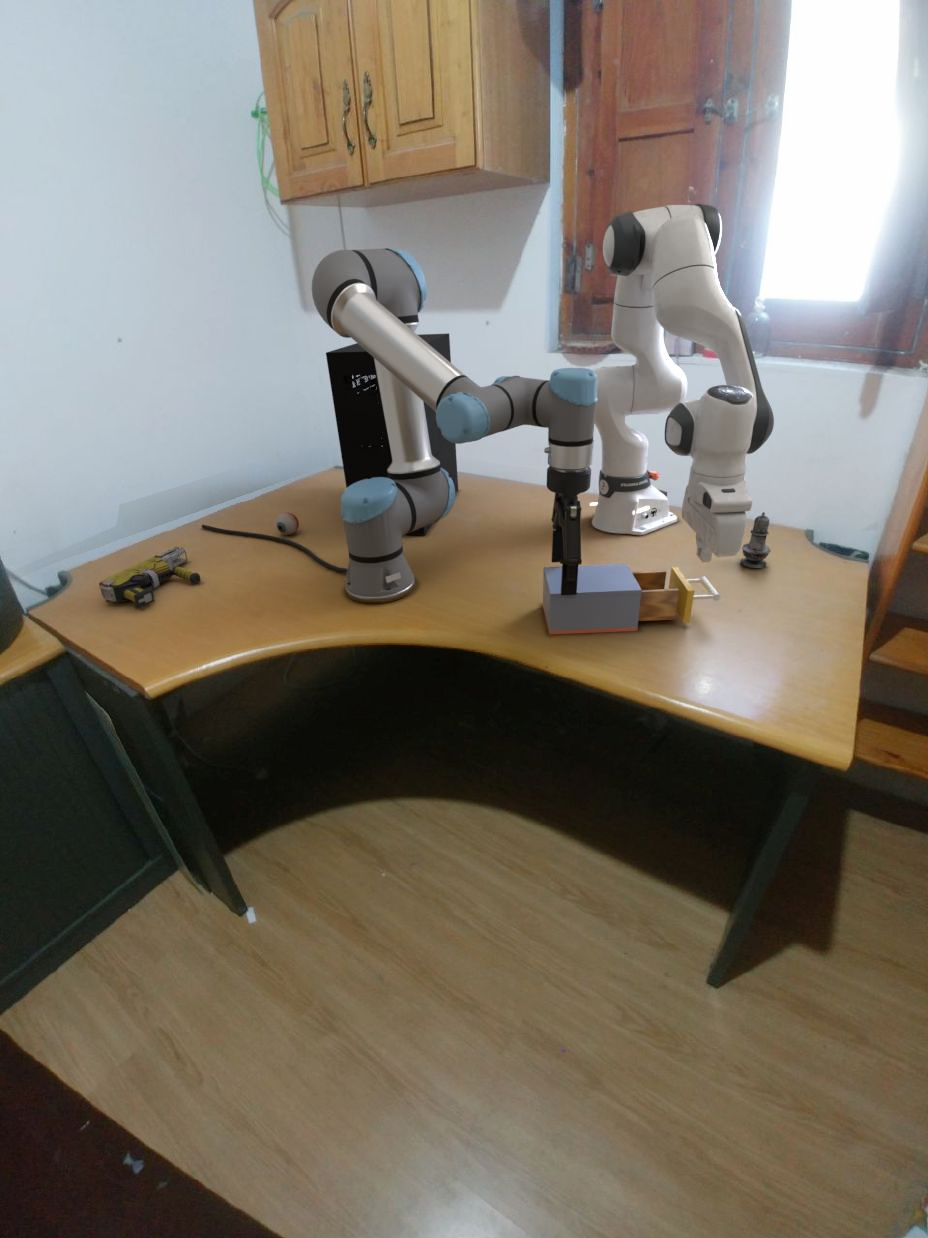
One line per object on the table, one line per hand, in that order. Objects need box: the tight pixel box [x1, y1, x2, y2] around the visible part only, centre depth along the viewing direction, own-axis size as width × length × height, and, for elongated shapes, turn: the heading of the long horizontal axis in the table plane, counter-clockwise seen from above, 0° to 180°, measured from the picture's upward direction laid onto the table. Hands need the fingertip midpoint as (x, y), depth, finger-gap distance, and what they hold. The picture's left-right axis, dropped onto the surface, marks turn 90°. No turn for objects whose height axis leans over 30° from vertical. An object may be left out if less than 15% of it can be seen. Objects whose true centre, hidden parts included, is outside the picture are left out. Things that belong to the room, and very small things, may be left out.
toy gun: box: [98, 546, 201, 609], centre depth 140 cm, size 5×24×15 cm
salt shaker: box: [739, 511, 772, 569], centre depth 132 cm, size 6×6×12 cm
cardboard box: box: [325, 333, 459, 536], centre depth 166 cm, size 38×20×45 cm, turn 167°
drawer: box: [631, 566, 721, 624], centre depth 116 cm, size 21×10×7 cm, turn 90°
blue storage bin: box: [542, 563, 642, 635], centre depth 116 cm, size 16×11×9 cm
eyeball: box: [275, 511, 300, 536], centre depth 163 cm, size 6×6×6 cm
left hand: (563, 577), depth 114 cm, fingers open, 13 cm apart
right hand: (703, 559), depth 112 cm, fingers closed
